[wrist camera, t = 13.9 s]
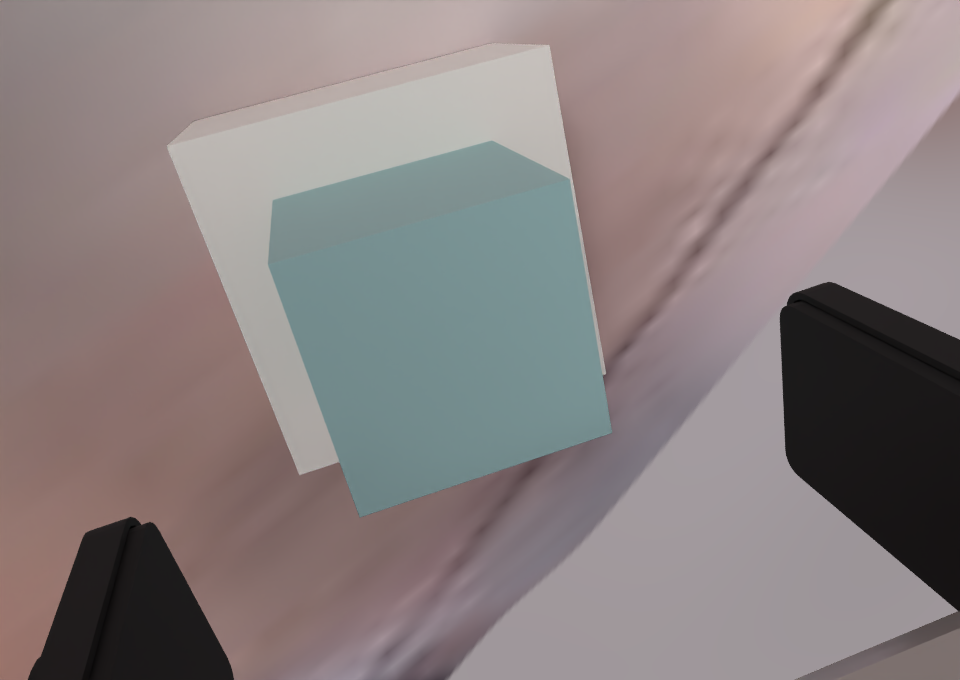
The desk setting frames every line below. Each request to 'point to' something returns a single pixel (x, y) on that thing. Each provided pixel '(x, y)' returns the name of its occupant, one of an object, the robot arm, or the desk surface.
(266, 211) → the cream block
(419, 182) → the teal cube
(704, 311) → the desk surface
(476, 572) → the desk surface
